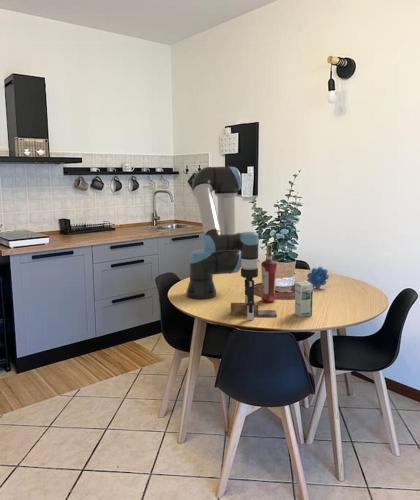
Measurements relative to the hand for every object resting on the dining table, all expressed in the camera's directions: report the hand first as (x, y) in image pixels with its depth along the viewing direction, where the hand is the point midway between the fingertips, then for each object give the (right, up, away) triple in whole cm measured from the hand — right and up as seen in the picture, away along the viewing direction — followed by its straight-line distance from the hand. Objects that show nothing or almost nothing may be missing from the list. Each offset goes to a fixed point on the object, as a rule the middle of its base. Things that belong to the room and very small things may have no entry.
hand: (249, 314), depth 196 cm
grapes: (+40, +8, +42) cm, 59 cm away
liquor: (+11, +3, +20) cm, 23 cm away
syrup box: (+24, 0, 0) cm, 24 cm away
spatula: (+2, 0, 0) cm, 2 cm away
